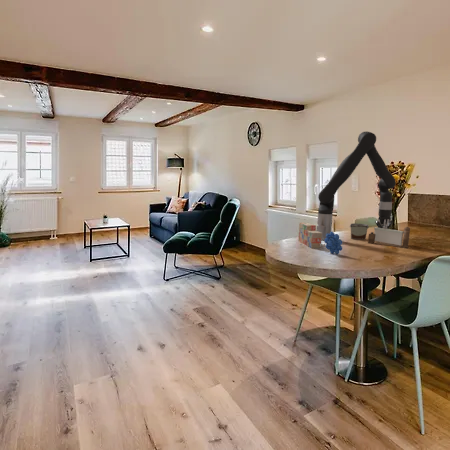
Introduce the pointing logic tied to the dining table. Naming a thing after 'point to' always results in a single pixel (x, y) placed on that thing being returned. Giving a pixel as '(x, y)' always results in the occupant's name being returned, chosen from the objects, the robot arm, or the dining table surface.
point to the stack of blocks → (309, 235)
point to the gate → (388, 236)
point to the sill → (388, 244)
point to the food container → (358, 231)
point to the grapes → (333, 242)
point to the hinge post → (406, 237)
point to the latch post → (371, 238)
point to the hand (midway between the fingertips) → (383, 235)
